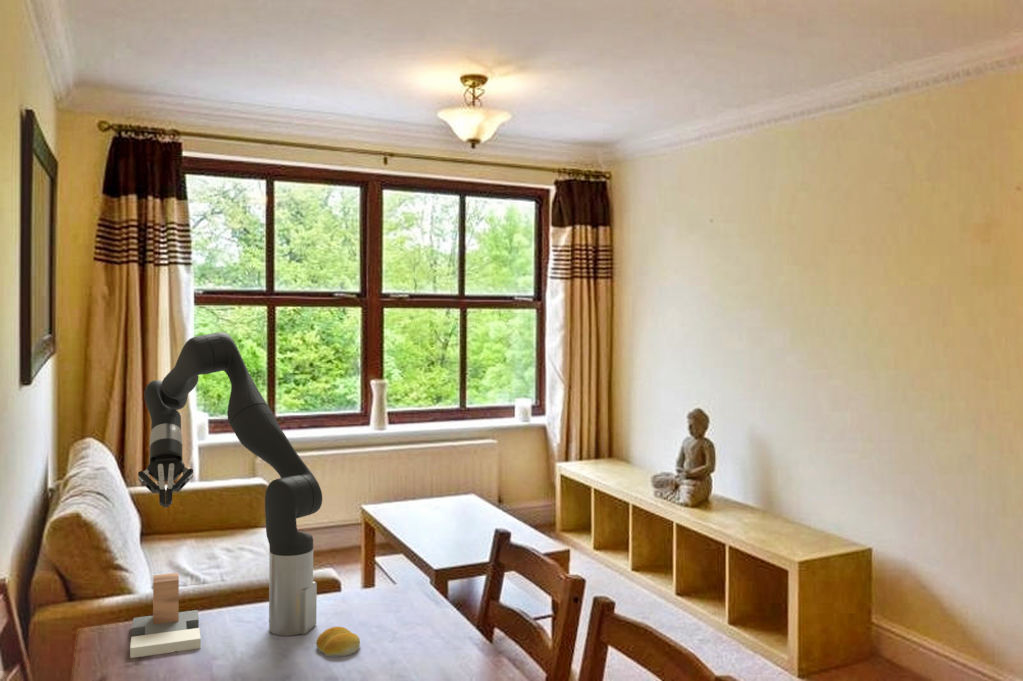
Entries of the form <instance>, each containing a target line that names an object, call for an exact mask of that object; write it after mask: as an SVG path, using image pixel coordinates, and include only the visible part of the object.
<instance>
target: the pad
mask: <svg viewBox="0 0 1023 681" xmlns="http://www.w3.org/2000/svg"><path fill="white" fill-rule="evenodd" d="M130 638H131V639H130V647H129V653H130V654H129V656H130V657H129V659H135V658H140V657H148V656H153V655H154V656H155V655H161V654H163V655H164V654H168V653H169V654H170V653H176V652H175V651H177V652H183V651H189V650H197V649H201V644H202V643H201V642H202V641H201V640H202V638H201V628H200V627H199V628H194V629H187V630H179V631H172V632H164V633H157V634H149V635H142V636H134V637H132V636H131V637H130Z"/></svg>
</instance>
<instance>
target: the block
mask: <svg viewBox="0 0 1023 681" xmlns="http://www.w3.org/2000/svg"><path fill="white" fill-rule="evenodd" d="M179 577H180V576H179V572H174V573H165V574H156V575H155V574H154V575H153V581H152V585H153V586H152V600H153V601H152V606H153V607H152V608H153V609H152V616H153V624H161V623H168V622H176V621H179V612H180V611H179V609H180V608H179V606H180V605H179V604H180V603H179V600H180V599H179V598H180V597H179V596H180V594H179V590H180V589H179V587H180V586H179V583H180V582H179V581H180V580H179Z"/></svg>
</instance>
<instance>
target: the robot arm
mask: <svg viewBox="0 0 1023 681" xmlns="http://www.w3.org/2000/svg"><path fill="white" fill-rule="evenodd" d="M222 371H223V372H225V373H226V376H228V378H229V381H230V382H229V383H230V385H231V387H230V395H229V399H228V400H229V401H228V405H227V421H228V423H229V425H230V426H231V428H232V430H233V432H234V434H235V436H236V437H237V439H238V440H239V443H240V444H241V445H243V447H245V449H247V450H248V451H249V452H251V453H252V454H253V455H255V456H256V457H258V458H259V459H261V460H263V461H264V462H265V463H267V464H268V465H269V466H271V467H272V469H274V471H276V473H277V474H278V476H280V478H279V477H278V478H276V479H274V480H272V481H270V483H269V484H268V485H267V488H266V490H265V495H264V516H265V517H264V518H265V533H266V538H267V541H268V546H269V557H268V558H269V565H268V566H269V567H268V568H269V573H268V576H269V578H268V579H269V580H268V581H269V582H268V587H269V588H268V589H269V590H268V591H269V592H268V600H269V601H268V610H269V611H268V614H269V615H268V616H269V617H268V631H269V632H270V633H272V634H273V635H276V636H297V635H306V634H307V633H309V631H310V630H312V629H313V628H314V627H315V625H317V594H318V592H317V589H318V587H317V585H318V584H317V581H314V537H313V535H311V534H310V533H308V532H305V531H300V530H298V527H297V519H300V518H303V517H307V516H310V515H313V514H315V513H317V512H318V511H319V510H320V509H321V507H322V504H323V492H322V489H321V485H320V484H319V482H318V480H317V478H316V477H315V475H314V474H313V473H312V471H311V470H310V468H309V467H308V466H307V465H306V463H305V462H304V461H303V460H302V458H301V457H300V455H299V454H298V453H297V451H296V450H295V449H294V447H293V445H292V443H291V442H290V440H289V439H288V437H287V436H286V434H285V433H284V431H283V429H282V428H281V426H280V424H279V423H278V420H277V419H276V417H275V415H274V413H273V412H272V409H271V408H270V407H269V405H268V402H266V400H265V398H264V397H263V395H262V393H261V392H260V390H259V389H258V387H257V385H256V383H255V382H254V380H253V378H252V376H251V374H250V372H249V370H248V368H247V365H246V364H245V362H244V359H243V356H242V355H241V353H240V350H239V349H238V347H237V344H236V342H235V341H234V339H233V338H232V337H231V335H230V334H228V333H227V332H224V331H223V332H222V331H220V332H213V333H212V332H211V333H208V334H202V335H201V334H200V335H197V336H194V337H191V338H189V339H188V340H187V341H186V342H185V344H184V345H183V346H182V349H181V351H180V353H179V355H178V357H177V360H176V362H175V365H174V367H173V368H172V369H171V370H170V371H169V372H168V373H167V374H166V375H165V376H164V378H163V379H162V380H159V379H158V380H157V379H156V380H151V381H150V382H149V383H148V384H147V385H146V387H144V388H145V389H144V392H143V393H144V395H143V396H144V403H145V405H146V408H147V410H148V411H147V412H148V413H149V416H150V421H151V428H150V436H149V437H150V438H149V463H148V465H147V467H146V469H145V470H140V471H138V472H137V475H138V476H137V477H138V481H139V482H140V483H141V484H142V485H143V486H144V487H145V488H147V490H149V491H150V492H151V493H152V494H158V497H159V499H158V500H159V502H158V503H159V506H162V508H170V505H172V504H173V493H175V492H176V493H178V492H180V491H181V490H183V488H184V487H185V486H186V485H187V484H188V483H189V481H190V480H191V479H192V478H193V477H194V468H187V467H186V465H185V463H184V461H183V435H182V416H181V414H180V412H179V410H182V409H183V408H184V407H185V406H186V405H187V402H188V396H189V393H190V392H192V391H193V390H194V389H195V387H196V386H197V384H198V382H199V378H200V376H201V375H209V374H214V373H217V372H222ZM150 476H151V477H152V478H153V479H151V477H150ZM179 477H180V478H179ZM178 478H179V479H178ZM177 479H178V480H177ZM155 481H156V482H158V485H157V483H155ZM174 481H176V482H175V483H174ZM165 483H166V484H167V485H165Z"/></svg>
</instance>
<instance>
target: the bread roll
mask: <svg viewBox="0 0 1023 681" xmlns="http://www.w3.org/2000/svg"><path fill="white" fill-rule="evenodd" d="M360 645H361V641H360V637H359V636H358V634H356V633H352V632H351V631H350V630H349V629H348V628H346V627H343V626H333V627H330V628H327V629H325V630H324V631H323V632H322V633H320V634H319V635H318V637H317V639H316V647H317V649H318V650H319V652H322V653H323V655H325V656H326V655H327V657H330V656H338V657H347V656H350V655H352V653H353V654H355V651H356V652H357V651H358V650H359V648H360Z"/></svg>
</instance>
